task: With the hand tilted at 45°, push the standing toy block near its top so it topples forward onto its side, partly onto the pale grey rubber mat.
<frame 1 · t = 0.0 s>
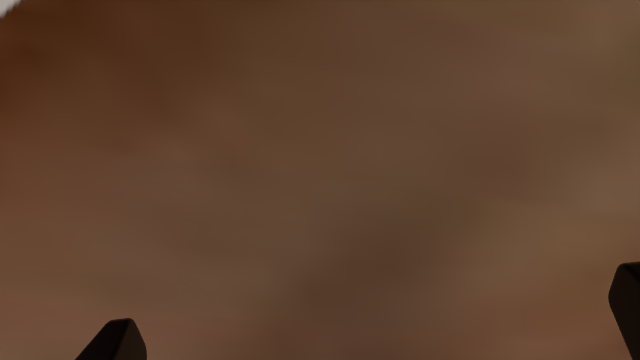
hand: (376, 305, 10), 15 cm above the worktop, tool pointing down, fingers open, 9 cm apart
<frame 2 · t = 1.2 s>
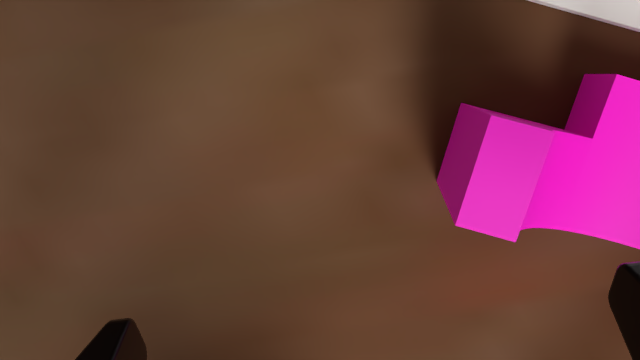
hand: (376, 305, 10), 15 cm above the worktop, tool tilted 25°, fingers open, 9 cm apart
toy block: (619, 158, 24), on the worktop
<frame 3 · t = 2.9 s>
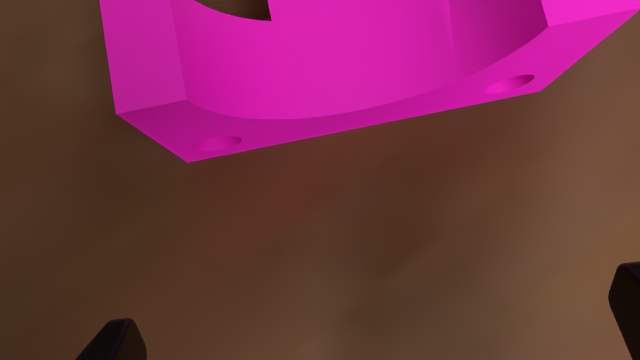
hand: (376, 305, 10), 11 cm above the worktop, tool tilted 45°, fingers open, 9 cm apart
toy block: (348, 60, 23), on the worktop
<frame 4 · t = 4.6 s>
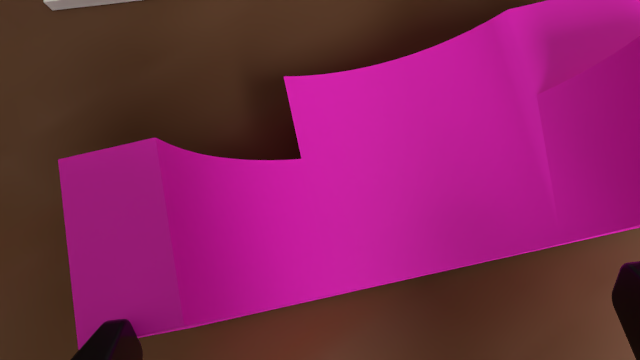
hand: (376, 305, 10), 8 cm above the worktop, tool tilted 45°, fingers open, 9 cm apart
toy block: (396, 185, 18), on the worktop, touching gripper
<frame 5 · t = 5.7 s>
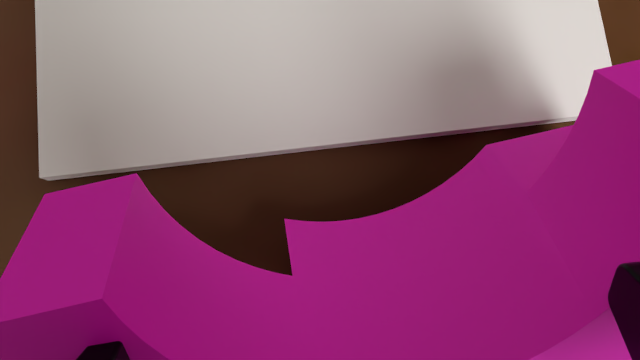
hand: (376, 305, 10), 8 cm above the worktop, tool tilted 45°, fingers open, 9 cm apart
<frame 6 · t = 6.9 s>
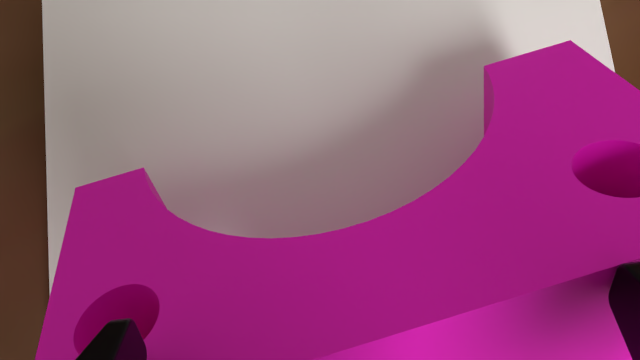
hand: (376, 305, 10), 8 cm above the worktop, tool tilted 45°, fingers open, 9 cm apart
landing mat: (327, 83, 19), on the worktop
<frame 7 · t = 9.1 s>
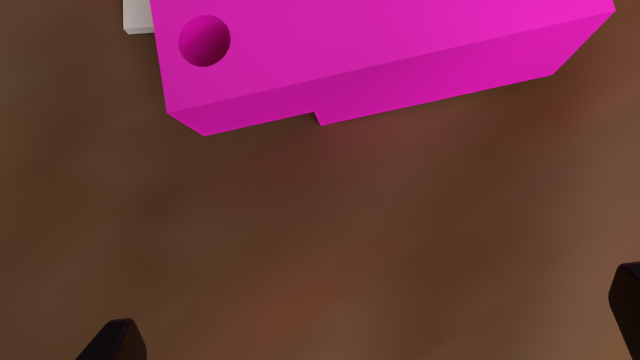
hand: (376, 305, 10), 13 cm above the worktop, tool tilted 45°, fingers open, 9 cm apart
toy block: (383, 96, 20), point 3 cm above the worktop, touching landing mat
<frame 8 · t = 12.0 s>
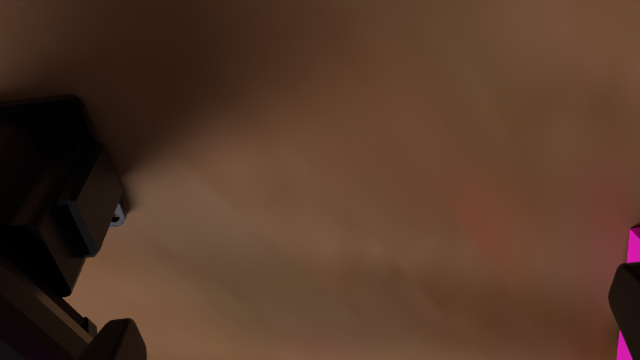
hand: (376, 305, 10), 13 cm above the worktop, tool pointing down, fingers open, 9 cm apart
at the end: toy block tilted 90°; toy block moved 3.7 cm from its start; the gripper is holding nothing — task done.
